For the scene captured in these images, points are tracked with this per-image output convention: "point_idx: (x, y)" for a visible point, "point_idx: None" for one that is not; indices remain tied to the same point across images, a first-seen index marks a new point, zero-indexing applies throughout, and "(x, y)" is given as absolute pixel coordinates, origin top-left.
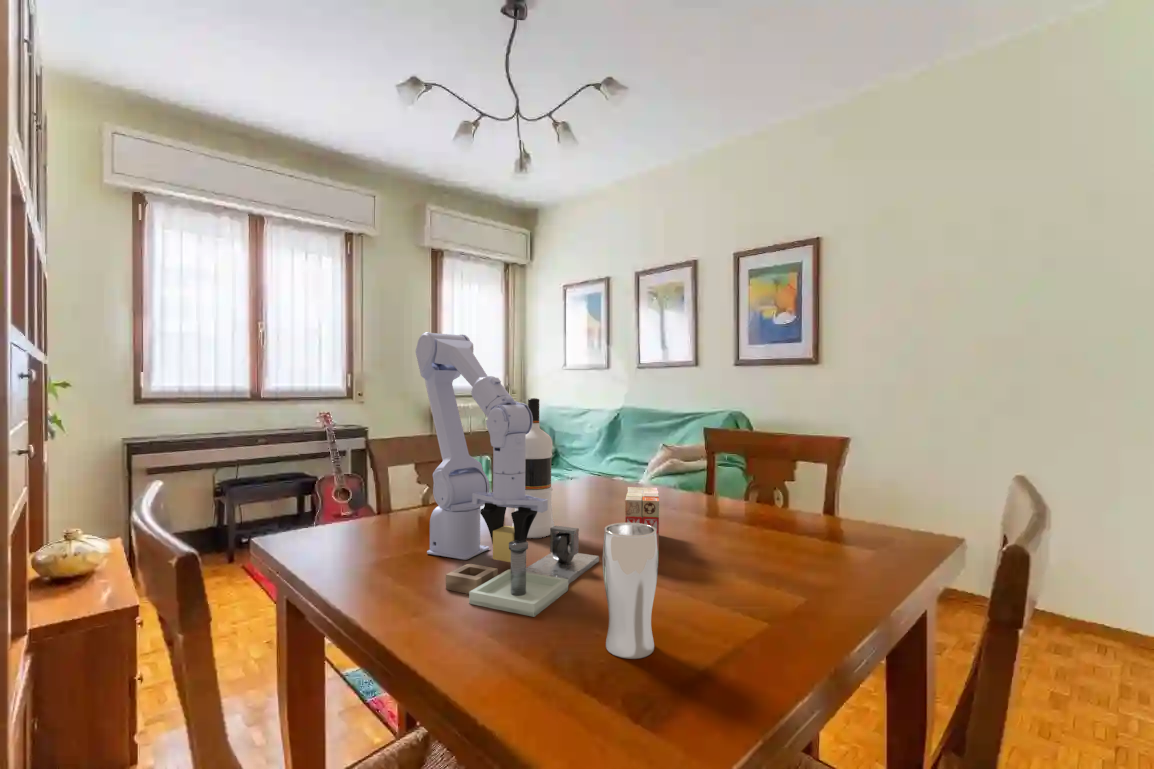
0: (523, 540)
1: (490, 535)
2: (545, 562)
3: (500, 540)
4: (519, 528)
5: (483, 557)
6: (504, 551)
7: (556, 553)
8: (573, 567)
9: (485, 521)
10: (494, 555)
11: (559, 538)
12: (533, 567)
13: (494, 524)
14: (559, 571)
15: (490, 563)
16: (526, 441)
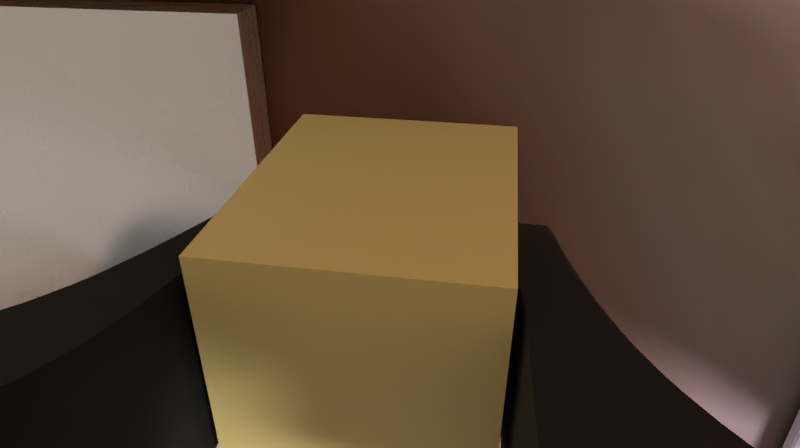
0: None
1: (584, 285)
2: None
3: (398, 212)
4: (28, 310)
5: (749, 345)
6: (368, 156)
7: None
8: (15, 275)
9: (705, 414)
10: (498, 142)
11: None
12: (218, 196)
13: (526, 403)
14: (23, 183)
15: (634, 254)
16: None
